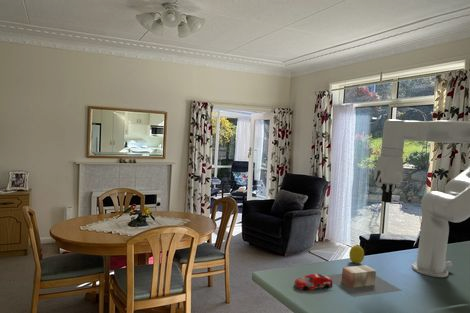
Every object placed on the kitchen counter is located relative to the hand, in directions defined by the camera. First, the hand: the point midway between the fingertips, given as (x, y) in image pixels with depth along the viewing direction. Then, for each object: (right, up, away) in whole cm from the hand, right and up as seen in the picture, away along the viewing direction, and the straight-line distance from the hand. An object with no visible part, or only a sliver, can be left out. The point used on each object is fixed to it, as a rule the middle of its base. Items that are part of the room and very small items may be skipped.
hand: (386, 201), depth 135 cm
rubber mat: (-13, -27, -11) cm, 32 cm away
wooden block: (-10, -24, -10) cm, 28 cm away
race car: (-31, -27, -15) cm, 43 cm away
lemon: (-9, -26, +8) cm, 29 cm away
